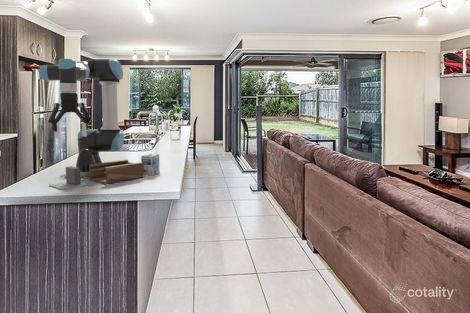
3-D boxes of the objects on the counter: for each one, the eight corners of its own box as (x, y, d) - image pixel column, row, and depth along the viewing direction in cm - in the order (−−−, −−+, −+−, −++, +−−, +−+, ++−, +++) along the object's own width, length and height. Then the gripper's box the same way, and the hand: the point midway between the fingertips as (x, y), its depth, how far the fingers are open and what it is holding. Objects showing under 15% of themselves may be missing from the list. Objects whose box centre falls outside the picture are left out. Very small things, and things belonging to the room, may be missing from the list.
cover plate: (48, 186, 187) (47, 168, 186) (83, 181, 201) (82, 163, 200) (62, 191, 179) (61, 171, 178) (97, 184, 192) (97, 166, 191)
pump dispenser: (100, 175, 213) (99, 148, 211) (87, 179, 204) (86, 150, 201) (85, 174, 217) (84, 147, 214) (71, 177, 207) (70, 149, 205)
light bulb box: (152, 175, 215) (152, 156, 214) (141, 175, 217) (140, 155, 215) (160, 172, 226) (159, 153, 224) (149, 171, 227) (148, 153, 225)
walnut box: (89, 180, 201) (89, 164, 200) (125, 174, 218) (125, 159, 216) (107, 184, 191) (106, 167, 190) (143, 178, 208) (143, 162, 207)
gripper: (46, 92, 172) (49, 140, 175) (97, 92, 191) (99, 136, 194) (38, 92, 176) (41, 138, 179) (88, 92, 196) (90, 135, 199)
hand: (71, 137), depth 187 cm, fingers open, 13 cm apart
